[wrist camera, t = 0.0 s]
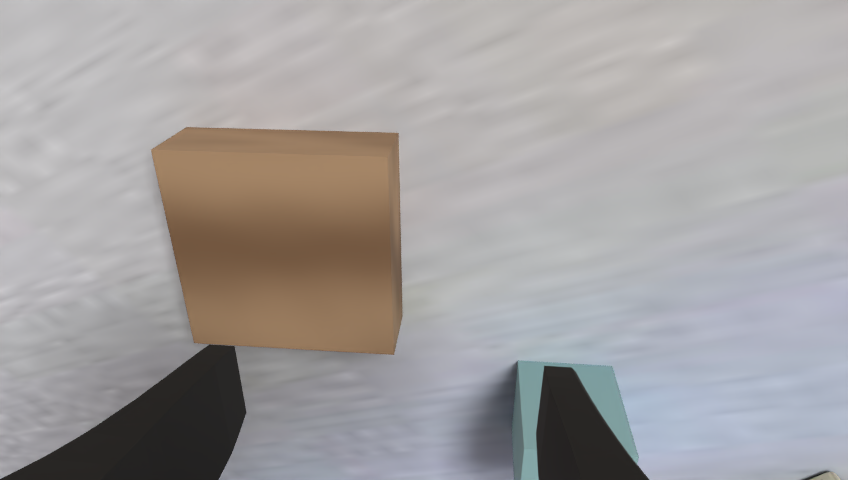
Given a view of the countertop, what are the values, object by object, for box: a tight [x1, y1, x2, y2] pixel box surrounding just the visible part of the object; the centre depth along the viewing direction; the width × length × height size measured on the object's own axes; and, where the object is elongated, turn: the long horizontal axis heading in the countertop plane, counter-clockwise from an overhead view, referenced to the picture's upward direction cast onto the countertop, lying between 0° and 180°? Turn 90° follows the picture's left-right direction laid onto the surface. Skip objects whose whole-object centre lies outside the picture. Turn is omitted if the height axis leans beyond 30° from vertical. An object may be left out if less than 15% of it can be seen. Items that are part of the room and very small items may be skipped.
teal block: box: [512, 361, 639, 480], centre depth 24 cm, size 4×4×5 cm
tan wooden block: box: [151, 127, 402, 355], centre depth 22 cm, size 8×8×3 cm
